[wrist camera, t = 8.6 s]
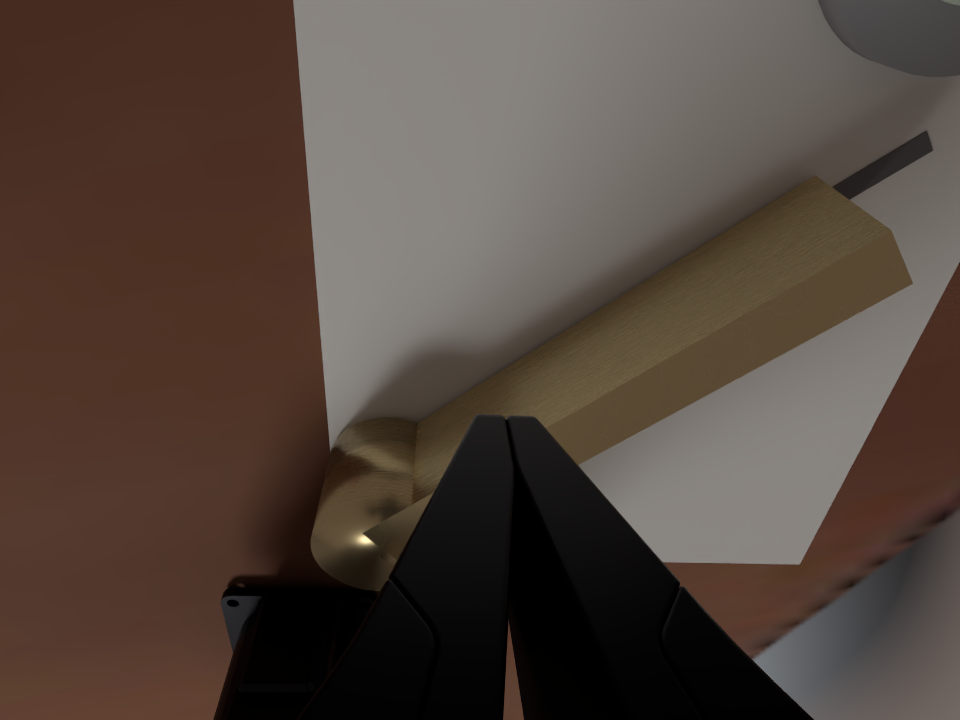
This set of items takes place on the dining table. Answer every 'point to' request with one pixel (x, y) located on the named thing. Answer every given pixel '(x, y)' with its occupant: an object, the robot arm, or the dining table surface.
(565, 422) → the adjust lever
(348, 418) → the base
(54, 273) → the dining table surface
